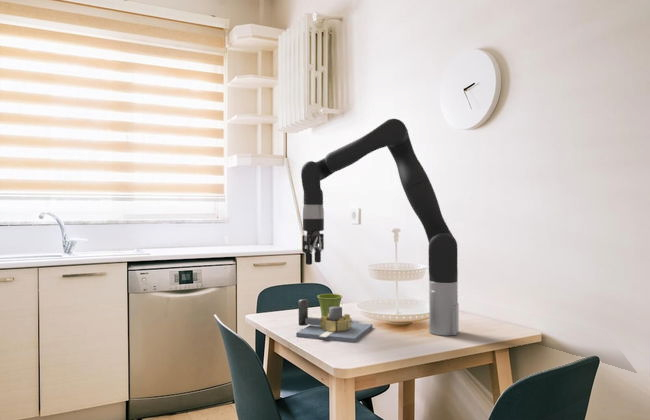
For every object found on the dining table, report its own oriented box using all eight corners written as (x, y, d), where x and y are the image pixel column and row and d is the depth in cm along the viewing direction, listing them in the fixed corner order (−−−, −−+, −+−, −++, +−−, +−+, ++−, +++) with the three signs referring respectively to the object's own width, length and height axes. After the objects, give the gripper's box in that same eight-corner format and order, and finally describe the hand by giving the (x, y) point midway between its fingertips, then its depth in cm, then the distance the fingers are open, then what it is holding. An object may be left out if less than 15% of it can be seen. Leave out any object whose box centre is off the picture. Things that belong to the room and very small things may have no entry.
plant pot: (342, 321, 180) (342, 298, 180) (317, 321, 180) (316, 298, 180) (342, 316, 189) (342, 293, 189) (317, 316, 189) (317, 293, 189)
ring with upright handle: (354, 325, 167) (354, 300, 167) (344, 332, 158) (344, 306, 158) (304, 321, 174) (304, 297, 174) (292, 327, 165) (292, 302, 165)
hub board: (372, 327, 170) (372, 304, 170) (352, 344, 149) (352, 317, 149) (319, 323, 177) (319, 300, 177) (293, 337, 157) (293, 312, 157)
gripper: (315, 218, 166) (315, 266, 166) (330, 217, 180) (330, 261, 180) (295, 217, 169) (295, 265, 169) (311, 217, 183) (311, 261, 183)
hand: (313, 263), depth 175 cm, fingers open, 7 cm apart
